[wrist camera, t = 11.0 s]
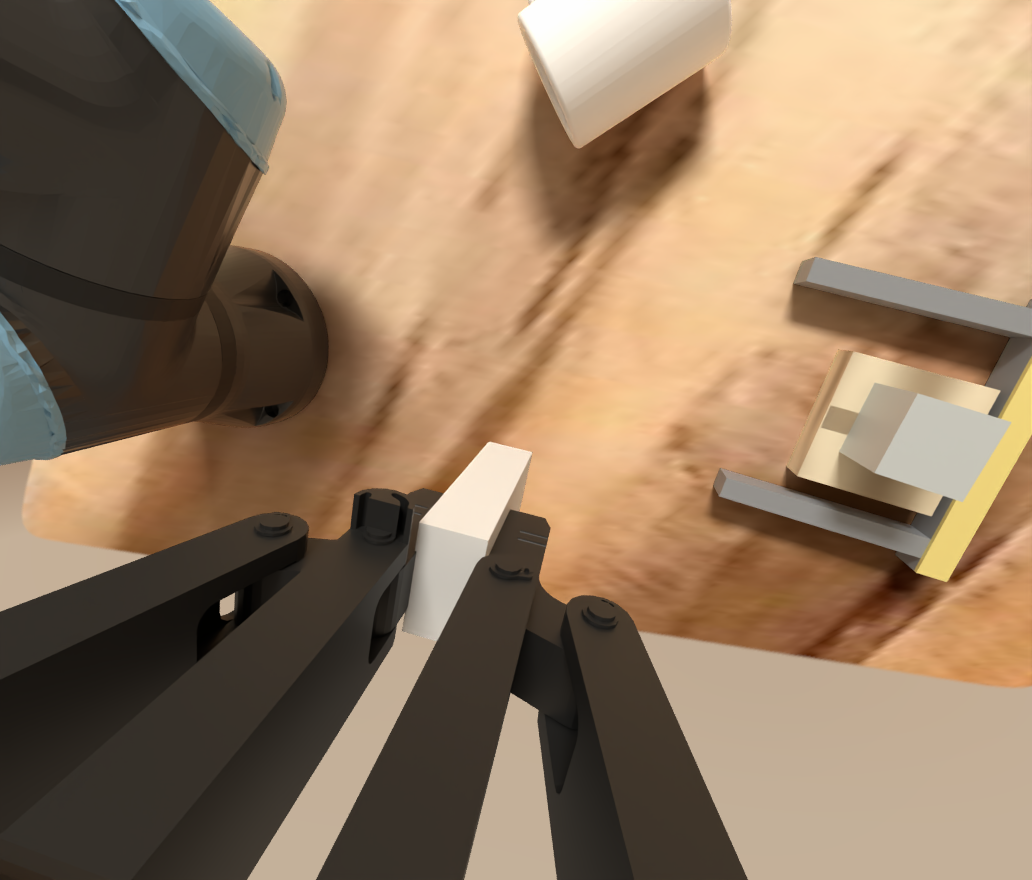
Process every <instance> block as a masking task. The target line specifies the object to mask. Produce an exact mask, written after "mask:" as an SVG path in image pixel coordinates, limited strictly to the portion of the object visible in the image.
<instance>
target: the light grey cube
mask: <svg viewBox="0 0 1032 880" xmlns="http://www.w3.org/2000/svg"><path fill="white" fill-rule="evenodd" d="M1011 423H1012V422H1009V421H1006V420H1003V419H1000V418H996V417H993V416H990V415H987V414H983V413H980V412H977V411H974V410H970V409H967V408H964V407H961V406H957V405H954V404H951V403H948V402H944V401H941V400H938V399H935V398H932V397H928V396H925V395H922V394H919V393H915V392H911V391H907V390H903V389H899V388H895V387H891V386H887V385H883V384H879V383H874V385H873V387H872V389H871V391H870V393H869V395H868V397H867V399H866V401H865V402H864V404H863V406H862V408H861V410H860V412H859V414H858V416H857V418H856V420H855V422H854V424H853V426H852V428H851V429H850V431H849V433H848V435H847V437H846V439H845V441H844V443H843V445H842V447H841V449H840V451H839V452H841V453H842V454H844V455H845V456H847V457H849V458H850V459H852V460H854V461H855V462H857V463H859V464H860V465H862V466H864V467H865V468H867V469H869V470H870V471H872V472H874V473H876V474H879V475H882V476H885V477H888V478H891V479H894V480H897V481H900V482H903V483H906V484H909V485H912V486H915V487H918V488H921V489H924V490H927V491H930V492H933V493H936V494H939V495H942V496H945V497H949V498H952V499H955V500H958V501H961V502H963V501H964V499H965V497H966V496H967V494H968V493H969V491H970V489H971V488H972V486H973V484H974V483H975V481H976V480H977V478H978V476H979V475H980V473H981V471H982V470H983V468H984V467H985V465H986V463H987V462H988V460H989V458H990V457H991V455H992V453H993V452H994V450H995V449H996V447H997V445H998V444H999V442H1000V440H1001V439H1002V437H1003V436H1004V434H1005V432H1006V431H1007V429H1008V427H1009V426H1010V424H1011Z"/></svg>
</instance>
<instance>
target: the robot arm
mask: <svg viewBox="0 0 1032 880" xmlns="http://www.w3.org/2000/svg"><path fill="white" fill-rule="evenodd" d="M286 103H287V101H286V92H285V88H284V85H283V82H282V80H281V77H280V75H279V73H278V71H277V70H276V68H275V67H274V65H273V64H272V63H271V61H270V60H269V59H268V58H267V57H266V56H265V55H264V53H263V52H262V51H261V50H260V49H259V48H258V47H257V46H256V45H255V44H254V43H253V42H252V41H251V40H250V39H249V38H248V37H247V36H246V35H245V34H244V33H243V32H242V31H241V30H240V29H239V28H238V27H237V26H236V25H235V24H233V23H232V22H231V21H230V20H229V19H228V18H227V17H226V16H225V15H224V14H223V13H222V12H221V11H220V10H219V9H218V8H217V7H216V6H215V5H214V4H213V3H212V2H210V1H209V0H0V465H6V464H11V463H16V462H21V461H27V460H33V459H35V460H50V459H53V458H56V457H59V456H60V455H64V454H67V453H71V452H75V451H79V450H83V449H87V448H91V447H95V446H99V445H103V444H107V443H111V442H114V441H118V440H122V439H126V438H130V437H134V436H138V435H142V434H146V433H150V432H154V431H158V430H161V429H165V428H169V427H173V426H177V425H181V424H185V423H189V422H193V421H196V422H203V423H211V424H218V425H225V426H233V427H241V428H251V427H261V426H265V425H269V424H272V423H276V422H279V421H282V420H285V419H288V418H290V417H292V416H294V415H295V414H297V413H298V412H300V411H301V410H302V409H303V408H304V407H306V406H307V405H308V403H309V402H310V401H311V400H312V399H313V397H314V396H315V394H316V393H317V391H318V389H319V387H320V385H321V383H322V380H323V377H324V374H325V371H326V366H327V359H328V338H327V331H326V326H325V322H324V318H323V315H322V312H321V310H320V307H319V305H318V303H317V301H316V299H315V297H314V295H313V294H312V292H311V290H310V289H309V287H308V286H307V284H306V283H305V282H304V281H303V279H302V278H301V277H300V276H299V275H298V274H297V273H296V272H295V271H294V270H293V269H292V268H290V267H289V266H288V265H287V264H285V263H284V262H283V261H281V260H279V259H278V258H276V257H274V256H272V255H270V254H267V253H265V252H262V251H259V250H254V249H249V248H244V247H239V246H232V245H230V243H231V241H232V239H233V236H234V234H235V232H236V230H237V227H238V225H239V223H240V221H241V219H242V217H243V215H244V212H245V210H246V208H247V206H248V204H249V202H250V200H251V197H252V195H253V193H254V191H255V189H256V187H257V185H258V183H259V180H260V178H261V176H262V174H263V173H264V174H265V175H266V173H267V171H268V168H269V165H268V163H267V161H268V158H269V156H270V153H271V150H272V147H273V144H274V142H275V139H276V136H277V133H278V131H279V128H280V126H281V123H282V120H283V118H284V115H285V111H286ZM531 457H532V452H529V451H525V450H521V449H517V448H513V447H509V446H505V445H501V444H497V443H493V442H488V443H487V445H486V446H485V447H484V448H483V449H482V450H481V451H480V453H479V454H478V455H477V456H476V457H475V458H474V460H473V461H472V462H471V463H470V464H469V465H468V466H467V468H466V469H465V470H464V471H463V472H462V473H461V475H460V476H459V477H458V478H457V479H456V480H455V482H454V483H453V484H452V485H451V486H450V487H449V488H448V490H447V491H446V492H445V493H440V492H436V491H432V490H428V489H424V488H423V489H420V490H417V491H414V492H411V493H409V494H408V495H406V494H404V493H401V492H398V491H395V490H389V489H367V490H362V491H360V492H357V493H355V494H354V501H353V510H352V518H351V527H350V529H349V530H348V531H347V532H346V533H345V534H344V535H342V536H341V537H340V538H339V539H338V540H328V539H316V538H308V531H309V527H308V525H307V522H306V521H304V520H303V519H301V518H300V517H297V516H294V515H290V514H287V513H280V512H274V513H268V514H260V515H257V516H253V517H249V518H247V519H244V520H242V521H239V522H236V523H234V524H231V525H228V526H226V527H223V528H220V529H218V530H215V531H212V532H210V533H207V534H205V535H202V536H199V537H197V538H194V539H191V540H189V541H186V542H183V543H181V544H178V545H175V546H173V547H170V548H168V549H165V550H162V551H160V552H157V553H154V554H152V555H149V556H146V557H144V558H141V559H138V560H136V561H133V562H131V563H128V564H125V565H123V566H120V567H118V568H115V569H112V570H110V571H107V572H104V573H102V574H99V575H96V576H94V577H91V578H88V579H86V580H83V581H80V582H78V583H75V584H72V585H70V586H67V587H65V588H62V589H59V590H57V591H54V592H51V593H49V594H46V595H43V596H41V597H38V598H36V599H33V600H30V601H28V602H25V603H22V604H20V605H17V606H14V607H12V608H9V609H6V610H4V611H1V612H0V880H247V879H248V877H249V875H250V874H251V872H252V870H253V869H254V867H255V866H256V864H257V863H258V861H259V859H260V858H261V856H262V854H263V853H264V851H265V849H266V848H267V846H268V845H269V843H270V842H271V840H272V838H273V837H274V835H275V834H276V832H277V830H278V829H279V827H280V826H281V824H282V822H283V821H284V819H285V818H286V816H287V814H288V813H289V811H290V809H291V808H292V806H293V805H294V803H295V801H296V800H297V798H298V796H299V795H300V793H301V791H302V790H303V788H304V787H305V785H306V783H307V782H308V781H309V779H310V777H311V776H312V774H313V773H314V771H315V769H316V768H317V766H318V765H319V763H320V761H321V760H322V758H323V757H324V755H325V753H326V752H327V750H328V749H329V747H330V745H331V744H332V742H333V740H334V739H335V737H336V736H337V734H338V732H339V731H340V729H341V728H342V726H343V724H344V722H345V721H346V719H347V718H348V716H349V715H350V713H351V712H352V710H353V708H354V707H355V705H356V703H357V702H358V700H359V699H360V697H361V696H362V694H363V692H364V691H365V689H366V688H367V686H368V684H369V683H370V681H371V679H372V678H373V676H374V675H375V673H376V671H377V670H378V668H379V666H380V665H381V663H382V662H383V660H384V658H385V657H386V655H387V654H388V652H389V650H390V649H391V647H392V646H393V642H394V639H395V633H396V626H397V623H398V622H399V620H400V618H401V617H402V616H403V614H404V613H405V616H404V622H403V629H402V631H404V632H407V633H411V634H414V635H417V636H421V637H424V638H427V639H431V640H434V641H437V642H436V644H435V646H434V648H433V650H432V652H431V654H430V656H429V658H428V660H427V662H426V664H425V666H424V668H423V670H422V672H421V674H420V676H419V678H418V680H417V682H416V684H415V686H414V688H413V690H412V692H411V694H410V696H409V697H408V700H407V701H406V704H405V705H404V707H403V709H402V711H401V713H400V716H399V717H398V719H397V721H396V723H395V725H394V727H393V729H392V731H391V733H390V735H389V737H388V739H387V741H386V743H385V745H384V747H383V749H382V751H381V753H380V755H379V757H378V759H377V761H376V763H375V765H374V767H373V768H372V770H371V773H370V774H369V777H368V778H367V780H366V782H365V784H364V786H363V788H362V790H361V792H360V794H359V796H358V798H357V800H356V802H355V804H354V806H353V808H352V810H351V812H350V814H349V816H348V818H347V820H346V822H345V824H344V826H343V828H342V830H341V832H340V834H339V835H338V838H337V840H336V841H335V843H334V845H333V847H332V849H331V851H330V853H329V855H328V857H327V859H326V861H325V863H324V865H323V867H322V869H321V871H320V873H319V875H318V877H317V879H316V880H464V878H465V874H466V870H467V865H468V862H469V857H470V853H471V849H472V845H473V841H474V837H475V833H476V829H477V825H478V821H479V817H480V813H481V809H482V805H483V801H484V797H485V793H486V789H487V785H488V781H489V777H490V773H491V769H492V765H493V761H494V757H495V753H496V749H497V745H498V741H499V736H500V732H501V729H502V724H503V721H504V716H505V713H506V709H507V705H508V701H509V697H510V693H512V694H514V695H515V696H517V697H519V698H520V699H522V700H523V701H525V702H527V703H528V704H530V705H531V706H533V707H535V708H536V709H538V710H539V712H538V728H539V737H540V744H541V752H542V761H543V769H544V777H545V785H546V793H547V802H548V810H549V818H550V826H551V834H552V841H553V850H554V858H555V866H556V874H557V880H748V879H747V877H746V875H745V872H744V870H743V868H742V865H741V863H740V861H739V859H738V856H737V854H736V852H735V850H734V847H733V845H732V843H731V841H730V838H729V836H728V834H727V832H726V830H725V827H724V825H723V822H722V820H721V818H720V816H719V813H718V811H717V809H716V807H715V804H714V802H713V800H712V798H711V795H710V793H709V791H708V789H707V786H706V784H705V782H704V780H703V777H702V775H701V773H700V771H699V768H698V766H697V764H696V762H695V759H694V757H693V755H692V753H691V750H690V748H689V746H688V743H687V741H686V739H685V737H684V734H683V732H682V730H681V728H680V726H679V723H678V721H677V719H676V716H675V714H674V712H673V710H672V707H671V705H670V703H669V701H668V698H667V696H666V694H665V692H664V689H663V687H662V685H661V683H660V680H659V678H658V676H657V674H656V671H655V669H654V667H653V665H652V662H651V660H650V658H649V656H648V653H647V651H646V649H645V646H644V644H643V642H642V640H641V637H640V635H639V633H638V631H637V628H636V626H635V624H634V622H633V620H632V618H631V617H630V616H629V614H628V613H627V612H626V611H625V610H624V609H622V608H621V607H620V606H619V605H617V604H616V603H614V602H612V601H609V600H608V599H605V598H600V597H596V596H584V595H581V596H578V597H575V598H572V599H571V600H570V601H569V602H568V604H567V605H566V604H564V603H562V602H560V601H558V600H557V599H555V598H553V597H552V596H551V595H549V594H548V593H547V592H546V591H545V590H544V588H543V587H542V586H541V584H540V581H539V574H540V570H541V565H542V561H543V557H544V553H545V549H546V545H547V541H548V537H549V532H550V526H549V525H548V523H547V521H546V519H545V518H542V517H538V516H534V515H530V514H526V513H522V512H519V511H520V507H521V502H522V498H523V493H524V489H525V484H526V479H527V475H528V470H529V466H530V461H531ZM233 593H235V608H234V611H232V612H230V613H228V614H226V615H223V616H220V613H219V612H220V600H222V599H223V598H225V597H227V596H229V595H231V594H233Z"/></svg>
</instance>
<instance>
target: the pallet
mask: <svg viewBox="0 0 1032 880" xmlns="http://www.w3.org/2000/svg"><path fill="white" fill-rule="evenodd" d="M874 383H879V384H883V385H887V386H891V387H895V388H899V389H903V390H907V391H911V392H915V393H919V394H922V395H925V396H928V397H932V398H935V399H938V400H941V401H944V402H948V403H951V404H954V405H957V406H961V407H964V408H967V409H970V410H974V411H977V412H980V413H983V414H987V415H988V413H989V411H990V409H991V407H992V406H993V404H994V402H995V400H996V398H997V397H998V395H999V393H1000V390H997V389H993V388H989V387H985V386H982V385H978V384H974V383H970V382H966V381H963V380H959V379H955V378H951V377H948V376H944V375H940V374H936V373H933V372H929V371H925V370H921V369H918V368H914V367H910V366H906V365H902V364H899V363H895V362H891V361H887V360H884V359H880V358H876V357H872V356H869V355H865V354H861V353H857V352H853V351H846V350H839V349H838V350H837V353H836V355H835V357H834V360H833V362H832V364H831V366H830V369H829V371H828V373H827V375H826V378H825V380H824V382H823V384H822V387H821V389H820V391H819V393H818V396H817V398H816V400H815V402H814V405H813V407H812V409H811V411H810V414H809V416H808V418H807V420H806V423H805V425H804V427H803V430H802V432H801V434H800V436H799V439H798V441H797V443H796V445H795V448H794V450H793V452H792V454H791V457H790V459H789V461H788V463H787V466H786V467H788V468H789V469H790V470H791V471H792V472H793V473H794V474H795V475H796V476H799V477H802V478H805V479H808V480H812V481H815V482H818V483H822V484H825V485H828V486H832V487H835V488H838V489H842V490H845V491H848V492H852V493H855V494H858V495H862V496H865V497H868V498H872V499H875V500H878V501H882V502H885V503H888V504H892V505H895V506H898V507H902V508H905V509H908V510H912V511H915V512H918V513H922V514H925V515H928V516H932V515H933V513H934V511H935V509H936V507H937V506H938V504H939V502H940V500H941V498H942V497H943V496H942V495H939V494H936V493H933V492H930V491H927V490H924V489H921V488H918V487H915V486H912V485H909V484H906V483H903V482H900V481H897V480H894V479H891V478H888V477H885V476H882V475H879V474H876V473H874V472H872V471H870V470H869V469H867V468H865V467H864V466H862V465H860V464H859V463H857V462H855V461H854V460H852V459H850V458H849V457H847V456H845V455H844V454H842V453H841V452H839V451H840V449H841V447H842V445H843V443H844V441H845V439H846V437H847V435H848V433H849V431H850V429H851V428H852V426H853V424H854V422H855V420H856V418H857V416H858V414H859V412H860V410H861V408H862V406H863V404H864V402H865V401H866V399H867V397H868V395H869V393H870V391H871V389H872V387H873V385H874Z"/></svg>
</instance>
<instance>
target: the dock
mask: <svg viewBox="0 0 1032 880" xmlns="http://www.w3.org/2000/svg"><path fill="white" fill-rule="evenodd" d="M793 284H796V285H800V286H805V287H809V288H813V289H817V290H821V291H825V292H829V293H833V294H837V295H841V296H845V297H849V298H853V299H857V300H861V301H865V302H869V303H873V304H877V305H881V306H886V307H890V308H894V309H898V310H902V311H906V312H910V313H914V314H918V315H922V316H926V317H930V318H934V319H938V320H942V321H946V322H950V323H954V324H958V325H962V326H967V327H971V328H975V329H979V330H983V331H987V332H991V333H995V334H999V335H1003V336H1007V337H1010V339H1009V341H1008V343H1007V345H1006V347H1005V349H1004V351H1003V352H1002V354H1001V356H1000V358H999V360H998V362H997V364H996V366H995V368H994V369H993V371H992V373H991V375H990V377H989V379H988V381H987V383H986V384H985V387H989V388H993V389H997V390H1000V393H999V395H998V397H997V398H996V400H995V402H994V404H993V406H992V407H991V409H990V411H989V413H988V415H990V416H993V417H996V418H1000V419H1003V420H1006V421H1009V422H1012V423H1011V424H1010V426H1009V427H1008V429H1007V431H1006V432H1005V434H1004V436H1003V437H1002V439H1001V440H1000V442H999V444H998V445H997V447H996V449H995V450H994V452H993V453H992V455H991V457H990V458H989V460H988V462H987V463H986V465H985V467H984V468H983V470H982V471H981V473H980V475H979V476H978V478H977V480H976V481H975V483H974V484H973V486H972V488H971V489H970V491H969V493H968V494H967V496H966V497H965V499H964V501H963V502H961V501H958V500H955V499H952V498H949V497H945V496H943V497H942V498H941V500H940V502H939V504H938V506H937V507H936V509H935V511H934V513H933V515H932V516H928V515H925V514H922V513H917V514H916V516H915V518H914V520H913V522H912V524H911V525H909V524H905V523H902V522H899V521H895V520H892V519H889V518H885V517H882V516H879V515H875V514H872V513H869V512H865V511H862V510H859V509H855V508H852V507H849V506H845V505H842V504H839V503H835V502H832V501H829V500H825V499H822V498H819V497H815V496H812V495H809V494H805V493H802V492H799V491H795V490H792V489H788V488H785V487H782V486H778V485H775V484H772V483H768V482H765V481H762V480H758V479H755V478H752V477H748V476H745V475H742V474H738V473H735V472H732V471H728V470H725V469H722V468H720V470H719V472H718V475H717V477H716V480H715V482H714V485H713V486H714V488H715V490H716V492H717V493H718V495H719V497H723V498H726V499H729V500H733V501H736V502H739V503H742V504H746V505H749V506H752V507H755V508H759V509H762V510H765V511H768V512H772V513H775V514H778V515H781V516H785V517H788V518H791V519H794V520H798V521H801V522H804V523H807V524H811V525H814V526H817V527H820V528H824V529H827V530H830V531H833V532H837V533H840V534H843V535H847V536H850V537H853V538H856V539H860V540H863V541H866V542H869V543H873V544H876V545H879V546H882V547H886V548H889V549H892V550H895V551H897V552H896V554H895V555H896V556H897V557H899V558H900V559H901V560H902V561H903V562H904V563H906V564H907V565H908V566H909V567H910V568H911V569H913V570H914V571H915V572H916V573H919V574H922V575H926V576H929V577H932V578H935V579H938V580H942V581H945V582H947V581H948V579H949V577H950V576H951V574H952V572H953V571H954V569H955V567H956V565H957V564H958V562H959V560H960V558H961V557H962V555H963V553H964V551H965V550H966V548H967V546H968V544H969V543H970V541H971V539H972V537H973V536H974V534H975V532H976V530H977V529H978V527H979V525H980V524H981V522H982V520H983V518H984V517H985V515H986V513H987V511H988V510H989V508H990V506H991V504H992V503H993V501H994V499H995V497H996V496H997V494H998V492H999V490H1000V489H1001V487H1002V485H1003V483H1004V482H1005V480H1006V478H1007V476H1008V475H1009V473H1010V471H1011V470H1012V468H1013V466H1014V464H1015V463H1016V461H1017V459H1018V457H1019V456H1020V454H1021V452H1022V450H1023V449H1024V447H1025V445H1026V443H1027V442H1028V440H1029V438H1030V436H1031V435H1032V299H1031V300H1030V302H1029V303H1028V305H1027V307H1023V306H1019V305H1014V304H1010V303H1006V302H1002V301H998V300H993V299H989V298H985V297H981V296H977V295H972V294H968V293H964V292H960V291H956V290H952V289H947V288H943V287H939V286H935V285H931V284H926V283H922V282H918V281H914V280H910V279H905V278H901V277H897V276H893V275H889V274H885V273H880V272H876V271H872V270H868V269H864V268H859V267H855V266H851V265H847V264H843V263H838V262H834V261H830V260H826V259H822V258H817V257H814V258H811V259H808V260H805V261H802V263H801V265H800V268H799V270H798V273H797V275H796V278H795V281H794V283H793Z"/></svg>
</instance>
